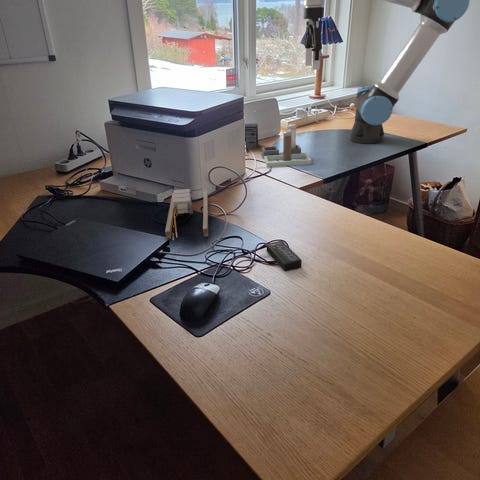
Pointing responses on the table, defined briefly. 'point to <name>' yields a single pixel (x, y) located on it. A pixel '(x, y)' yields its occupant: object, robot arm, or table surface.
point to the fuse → (293, 135)
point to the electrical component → (181, 204)
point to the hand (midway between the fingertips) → (311, 67)
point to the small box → (251, 135)
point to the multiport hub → (284, 256)
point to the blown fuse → (287, 145)
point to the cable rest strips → (171, 216)
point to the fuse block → (277, 151)
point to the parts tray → (287, 163)
